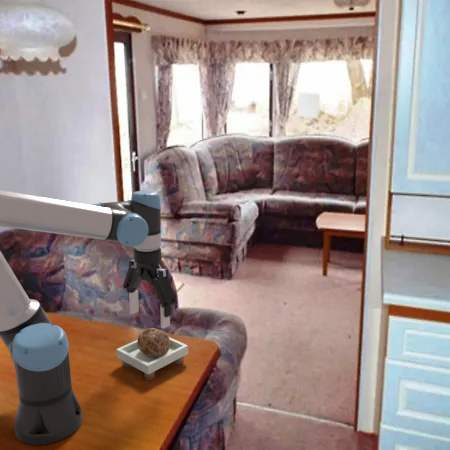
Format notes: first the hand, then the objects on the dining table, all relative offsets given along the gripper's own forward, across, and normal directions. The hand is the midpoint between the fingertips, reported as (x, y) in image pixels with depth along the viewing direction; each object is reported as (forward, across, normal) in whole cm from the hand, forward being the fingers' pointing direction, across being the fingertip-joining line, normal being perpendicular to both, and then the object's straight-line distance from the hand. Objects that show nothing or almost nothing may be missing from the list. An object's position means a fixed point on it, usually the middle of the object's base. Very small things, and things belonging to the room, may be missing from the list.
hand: (149, 319), depth 142 cm
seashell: (+11, 0, -2) cm, 11 cm away
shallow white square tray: (+14, 0, -1) cm, 14 cm away
